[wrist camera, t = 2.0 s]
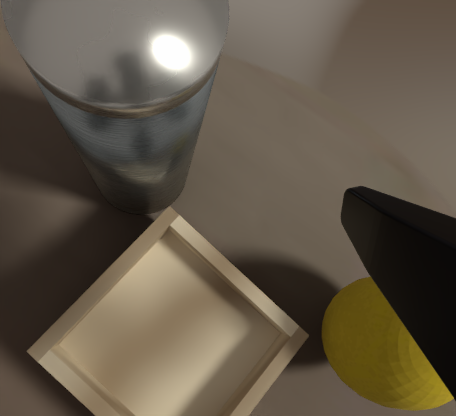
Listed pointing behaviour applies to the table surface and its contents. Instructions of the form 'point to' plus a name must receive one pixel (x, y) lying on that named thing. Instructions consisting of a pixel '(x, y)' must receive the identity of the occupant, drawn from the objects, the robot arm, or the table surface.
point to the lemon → (378, 351)
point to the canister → (125, 85)
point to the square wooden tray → (170, 332)
